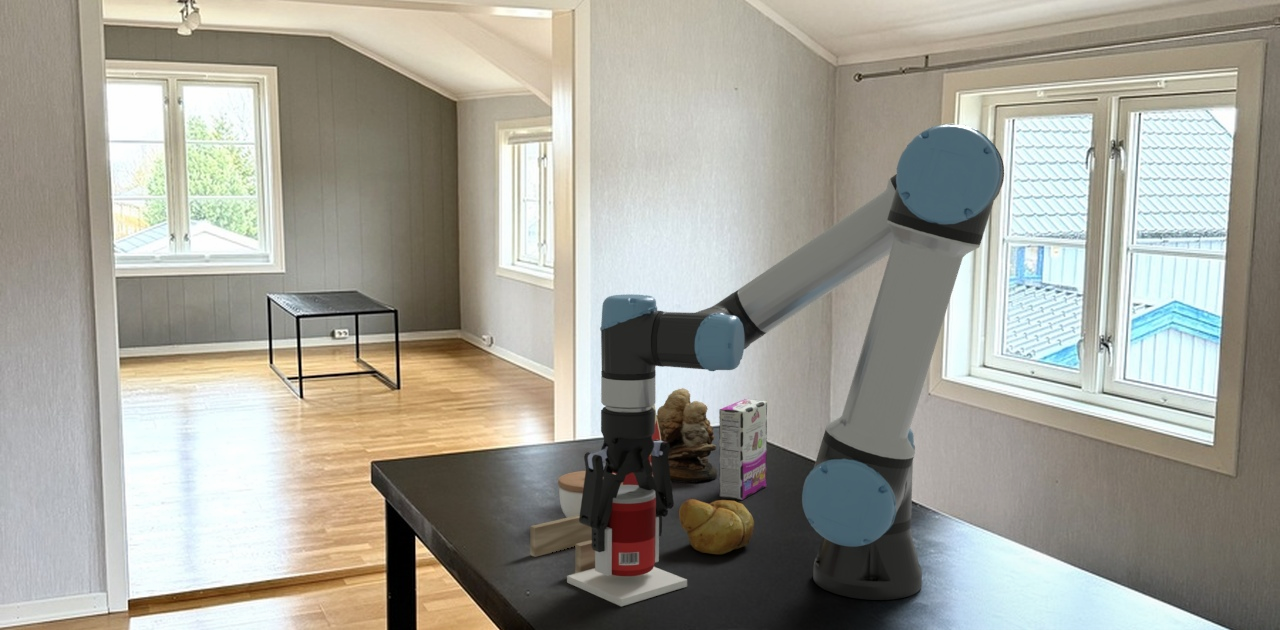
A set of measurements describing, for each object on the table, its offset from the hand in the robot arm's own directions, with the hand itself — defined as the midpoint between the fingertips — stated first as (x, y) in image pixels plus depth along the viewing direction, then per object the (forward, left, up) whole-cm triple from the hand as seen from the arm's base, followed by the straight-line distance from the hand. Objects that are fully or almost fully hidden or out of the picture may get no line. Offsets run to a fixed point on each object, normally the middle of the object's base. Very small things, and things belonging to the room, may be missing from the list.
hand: (627, 565), depth 160 cm
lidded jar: (+26, -14, -3) cm, 30 cm away
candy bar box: (+24, -48, -3) cm, 54 cm away
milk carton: (+35, -31, -3) cm, 47 cm away
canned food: (0, 0, -1) cm, 1 cm away
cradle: (+13, -3, -3) cm, 14 cm away
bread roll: (+4, -23, -3) cm, 23 cm away
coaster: (0, 0, -3) cm, 3 cm away
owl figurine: (+41, -49, -3) cm, 64 cm away
